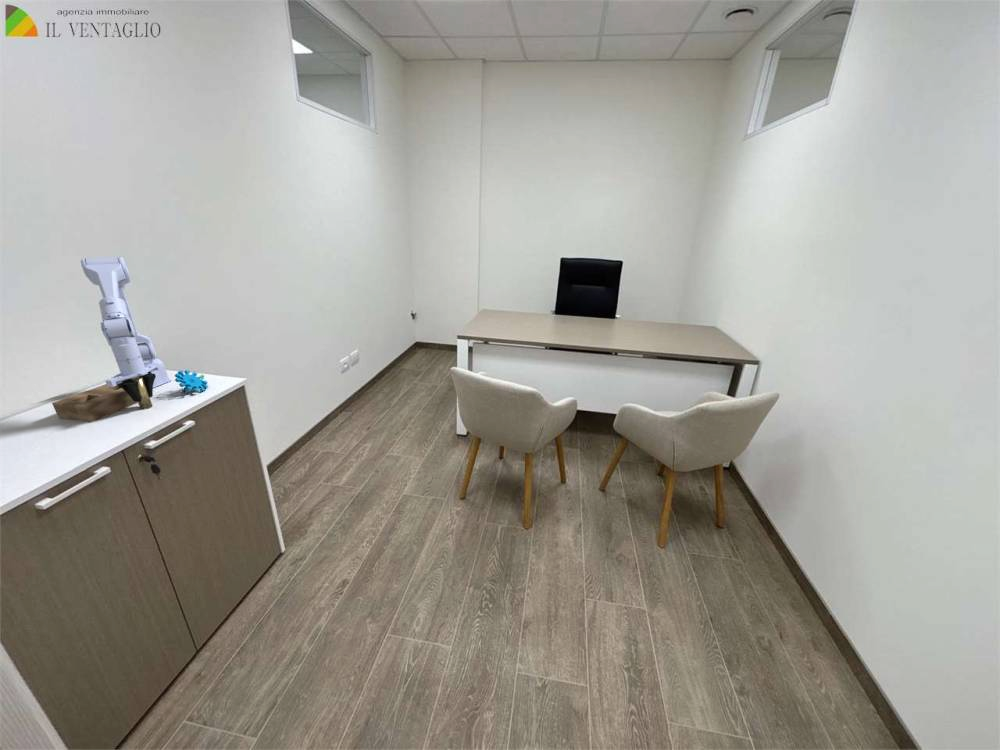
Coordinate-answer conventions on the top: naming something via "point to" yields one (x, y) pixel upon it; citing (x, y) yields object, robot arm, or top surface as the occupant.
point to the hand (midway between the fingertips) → (143, 398)
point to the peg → (143, 394)
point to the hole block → (93, 403)
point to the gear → (191, 381)
